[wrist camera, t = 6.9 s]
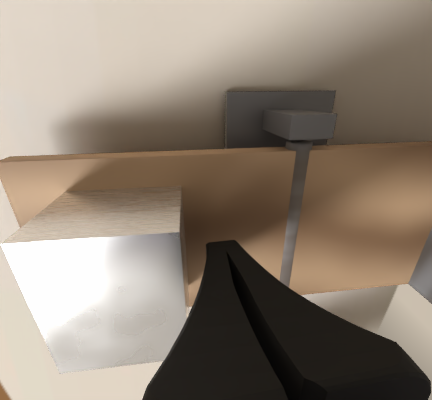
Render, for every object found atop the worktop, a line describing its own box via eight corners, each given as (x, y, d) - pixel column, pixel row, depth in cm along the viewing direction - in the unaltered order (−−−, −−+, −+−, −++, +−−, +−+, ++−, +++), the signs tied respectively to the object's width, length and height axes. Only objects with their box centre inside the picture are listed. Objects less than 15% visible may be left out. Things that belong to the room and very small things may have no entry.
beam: (450, 269, 17) (503, 304, 14) (68, 307, 14) (39, 360, 12) (519, 132, 13) (611, 143, 10) (9, 149, 10) (-56, 169, 8)
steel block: (188, 285, 13) (189, 357, 10) (95, 294, 13) (59, 373, 9) (181, 185, 11) (179, 231, 7) (65, 191, 10) (0, 244, 7)
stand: (296, 281, 19) (325, 325, 16) (224, 290, 18) (235, 339, 15) (329, 90, 13) (386, 89, 10) (225, 92, 13) (245, 91, 9)
